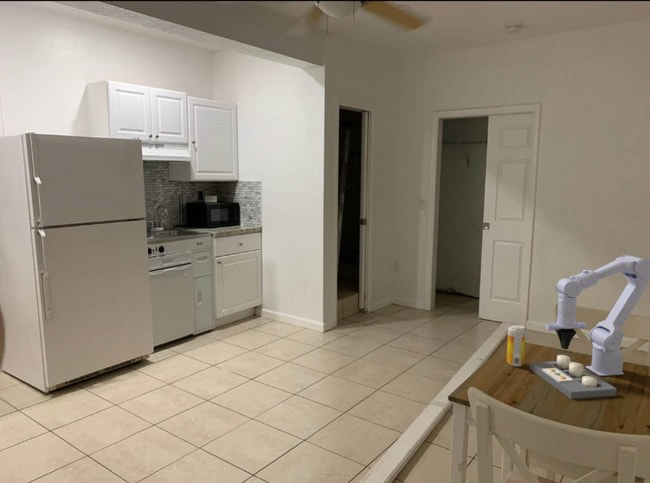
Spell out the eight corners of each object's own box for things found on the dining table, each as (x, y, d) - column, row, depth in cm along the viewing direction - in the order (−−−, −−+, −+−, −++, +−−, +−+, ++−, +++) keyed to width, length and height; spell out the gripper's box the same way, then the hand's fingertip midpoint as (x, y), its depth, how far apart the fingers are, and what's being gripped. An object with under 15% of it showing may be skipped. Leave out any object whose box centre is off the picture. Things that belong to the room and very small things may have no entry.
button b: (577, 372, 165) (578, 361, 165) (585, 377, 161) (586, 366, 160) (565, 372, 165) (566, 362, 164) (573, 378, 160) (574, 367, 160)
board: (569, 366, 176) (569, 360, 175) (616, 395, 152) (616, 388, 152) (529, 368, 174) (530, 362, 174) (570, 399, 150) (571, 392, 150)
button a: (565, 364, 172) (565, 354, 172) (572, 369, 168) (573, 359, 167) (553, 365, 172) (554, 355, 171) (561, 369, 167) (561, 359, 167)
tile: (555, 369, 167) (555, 367, 167) (573, 381, 157) (573, 379, 157) (542, 370, 167) (542, 368, 167) (559, 382, 157) (559, 380, 157)
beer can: (520, 361, 181) (522, 324, 179) (525, 367, 175) (527, 329, 173) (504, 360, 182) (506, 323, 180) (509, 367, 176) (511, 329, 174)
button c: (590, 386, 159) (591, 375, 158) (599, 392, 154) (600, 381, 154) (578, 387, 158) (579, 376, 158) (587, 392, 154) (587, 382, 153)
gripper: (577, 308, 172) (575, 343, 174) (541, 309, 170) (539, 345, 172) (591, 313, 165) (588, 350, 167) (553, 315, 163) (550, 352, 165)
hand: (564, 348), depth 169 cm, fingers closed
